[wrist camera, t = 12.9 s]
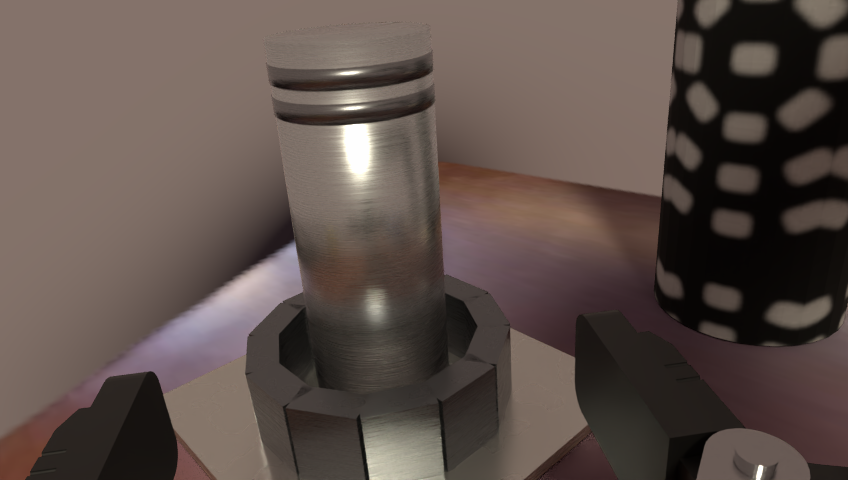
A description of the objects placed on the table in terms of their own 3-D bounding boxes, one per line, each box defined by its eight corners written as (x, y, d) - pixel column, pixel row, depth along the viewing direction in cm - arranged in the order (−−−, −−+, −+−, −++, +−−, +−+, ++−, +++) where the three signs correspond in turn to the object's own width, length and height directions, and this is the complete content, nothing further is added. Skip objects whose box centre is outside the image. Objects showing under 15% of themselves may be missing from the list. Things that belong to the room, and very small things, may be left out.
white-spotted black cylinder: (859, 285, 31) (971, -196, 23) (823, 369, 26) (954, -227, 17) (688, 248, 36) (730, -157, 28) (626, 312, 31) (656, -171, 23)
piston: (394, 342, 29) (362, 20, 23) (477, 391, 25) (466, 24, 20) (295, 396, 26) (231, 38, 20) (375, 460, 22) (326, 48, 16)
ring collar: (404, 286, 35) (398, 228, 33) (633, 395, 25) (638, 319, 24) (153, 410, 27) (130, 340, 25) (348, 644, 17) (331, 550, 15)
